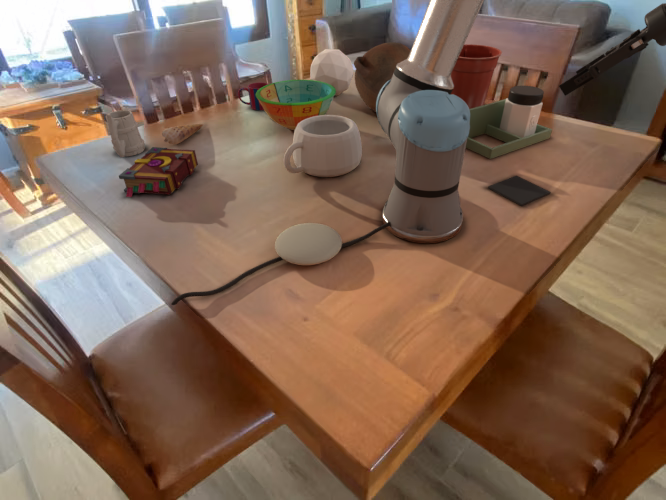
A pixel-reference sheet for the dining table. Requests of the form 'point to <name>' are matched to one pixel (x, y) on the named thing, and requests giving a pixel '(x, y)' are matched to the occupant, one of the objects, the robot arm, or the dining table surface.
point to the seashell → (180, 133)
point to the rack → (498, 131)
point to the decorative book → (159, 171)
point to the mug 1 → (124, 133)
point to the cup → (253, 95)
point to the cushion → (308, 244)
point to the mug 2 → (325, 146)
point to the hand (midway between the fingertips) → (570, 83)
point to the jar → (522, 110)
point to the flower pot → (474, 73)
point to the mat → (519, 190)
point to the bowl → (295, 100)
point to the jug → (377, 69)
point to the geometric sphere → (332, 69)
